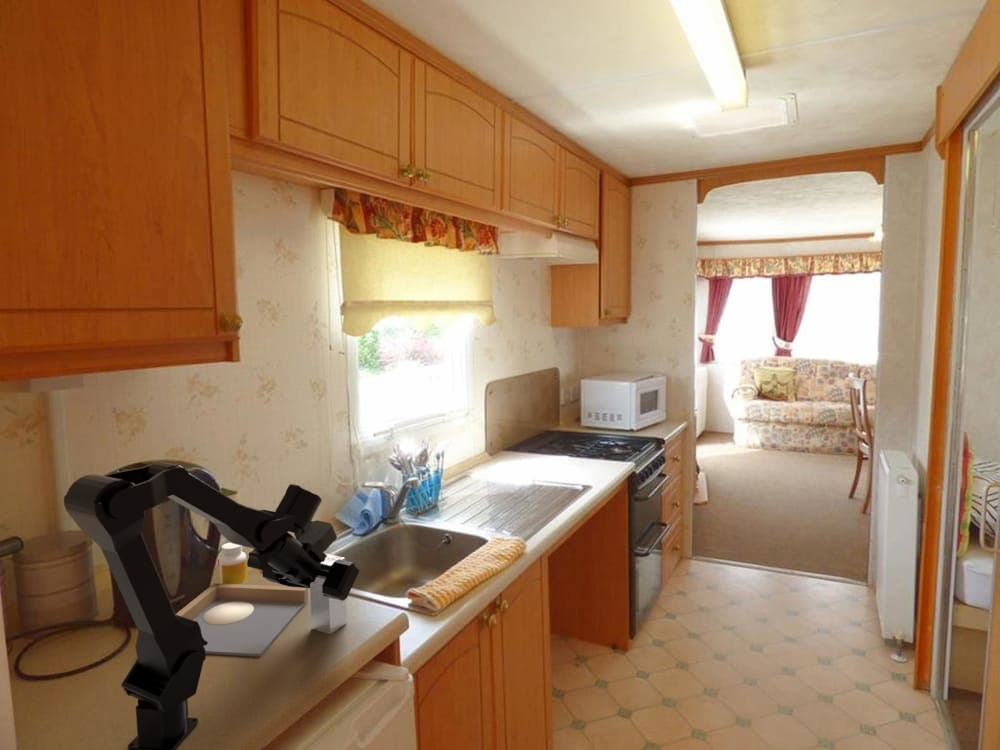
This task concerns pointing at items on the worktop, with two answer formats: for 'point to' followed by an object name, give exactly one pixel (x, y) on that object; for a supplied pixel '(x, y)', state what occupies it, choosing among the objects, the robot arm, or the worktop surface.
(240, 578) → the supplement bottle
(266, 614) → the corner arena
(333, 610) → the aluminium post
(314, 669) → the worktop surface
